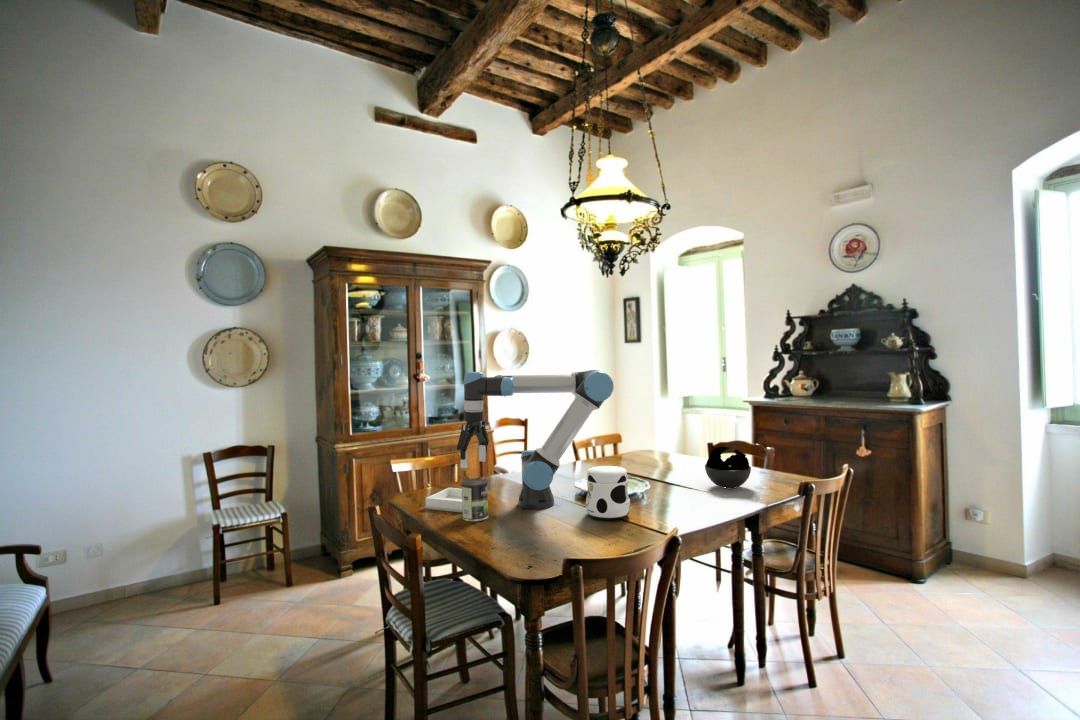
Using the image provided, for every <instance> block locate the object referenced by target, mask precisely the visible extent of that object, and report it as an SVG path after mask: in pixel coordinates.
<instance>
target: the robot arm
mask: <svg viewBox="0 0 1080 720" xmlns="http://www.w3.org/2000/svg"><path fill="white" fill-rule="evenodd" d="M463 382H464V383H463V397H464V398H463V409H464V412H463V421H465V422H466V424H462V425H461V431H460V434H459V438H458V441H457V445H456V451H459V453H460V454H459V455H460V458H459V459H460V468H461V469H468V464H469V463H468V458H469V457H468V455H469V452H468V450H467V449H468V448H469V445H470V442H471V440H472V437H474V436H475V437H476V439H477V440H478V442H479V444H478V462H486V460H487V459H486V454H487V453H486V451H487V450H486V449H487V447H486V446H489V443H490V440H489V436H488V432H487V429H486V428H487V427H486V422H485V421H483V420H484V411H483V410H484V397H512V396H513V395H514V394H540V393H541V394H551V393H552V394H553V393H558V394H559V393H562V394H563V393H571V394H572V395H573V396H574V400H573V401H572V402H571V404H570V405H569V407H568V408H567V410H566V412H565V413H564V414H563V415H562V417H561V418H560V420H559V422H557V424H556V426H555V427H554V429H553V430H552V431H551V433H550V435H549V436H548V437H547V439H546V440H545V442H544V443H543V445H542V447H539V448H536V449H532V450H531V449H530V450H523V451H522V452H521V456H520V459H521V483H522V484H521V489H520V493H519V497H518V506H519V507H521V508H523V509H527V510H528V509H529V510H543V509H548V508H551V507H553V506H554V505H555V497H554V494H553V492H552V489H551V486H550V485H551V484H552V483H553V480H554V475H555V474H556V472H557V471H558V469H559V468H560V466H561V465H560V464H561V462H560V460H561V458H562V457H563V455H564V454H565V452H566V450H567V449H569V447H570V445H571V443H572V442H573V440H574V439H575V438H576V436H577V435H578V434H579V432H580V431H581V429H582V427H583V426H584V425H585V423H586V421H587V420H588V419H589V417H590V415H591V414H592V412H593V411H596V410H597V411H598V410H599V409H600V407H601V406H602V405H603V404H604V402H605V401H606V400H608V399H609V398H610V397H611V396H612V394H613V392H614V388H615V387H614V381H613V379H612V377H611V376H610V375H609V374H608V372H605V371H603V370H598V369H590V370H585V371H573V372H572V373H571V374H531V375H529V374H528V375H527V374H526V375H524V374H523V375H522V374H521V375H520V374H519V375H517V374H515V375H503V374H502V375H501V374H497V375H496V376H492V377H491V376H490V377H489V376H485V375H484V373H483V372H482V371H468V372H466V373H465V374H464V381H463Z"/></svg>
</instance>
